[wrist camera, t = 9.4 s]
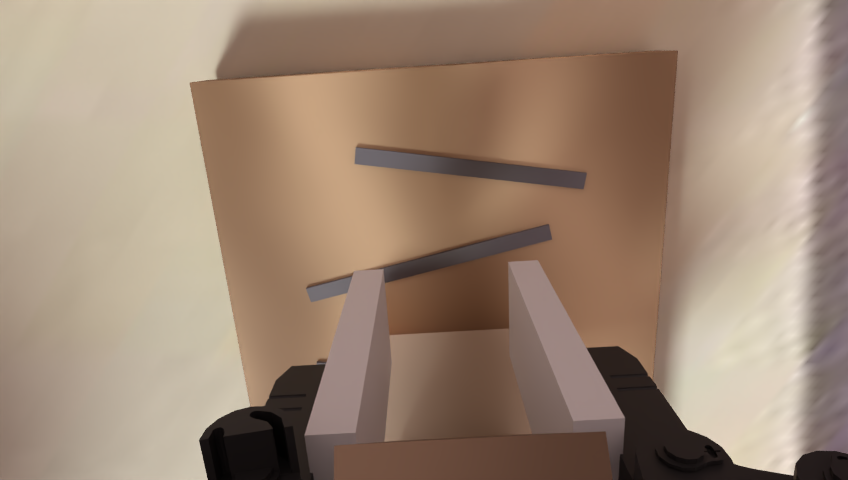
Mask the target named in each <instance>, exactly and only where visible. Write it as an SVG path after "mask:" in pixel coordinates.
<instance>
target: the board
mask: <svg viewBox="0 0 848 480" xmlns="http://www.w3.org/2000/svg"><path fill="white" fill-rule="evenodd" d="M677 55H678V51H644V52H628V53H613V54H598V55H583V56H568V57H552V58H537V59H522V60H507V61H491V62H476V63H461V64H446V65H431V66H415V67H400V68H385V69H370V70H355V71H339V72H324V73H309V74H294V75H279V76H263V77H248V78H233V79H218V80H206V81H199V82H192V83H190V87H191V92H192V98H193V103H194V108H195V114H196V119H197V124H198V130H199V135H200V140H201V146H202V151H203V156H204V162H205V167H206V172H207V178H208V183H209V188H210V194H211V199H212V204H213V210H214V215H215V220H216V226H217V231H218V236H219V242H220V247H221V252H222V258H223V263H224V268H225V274H226V279H227V284H228V289H229V295H230V300H231V305H232V311H233V316H234V321H235V327H236V332H237V337H238V343H239V348H240V353H241V359H242V364H243V369H244V375H245V380H246V385H247V391H248V396H249V401H250V407H254V406H265V404H266V402H267V399H269V395H270V392H271V390H272V388H273V386H274V383H275V381H276V380H277V379H278V378H279V377H280V376H281V375H282V374H283V373H284V372H286V371H287V370H288V369H289V368H290V367H291V366H301V365H319V364H326V362H327V359H328V356H329V352H330V349H331V346H332V342H333V339H334V336H335V333H336V329H337V326H338V323H339V319H340V316H341V313H342V309H343V306H344V303H345V299H346V296H347V293H348V289H349V286H350V283H351V280H352V276H353V273H354V271H360V270H377V269H384V280H385V292H386V303H387V314H388V325H389V335H402V334H420V333H438V332H456V331H474V330H492V329H509V282H508V262H514V261H531V260H538V261H539V263H540V265H541V267H542V269H543V270H544V272H545V274H546V276H547V278H548V279H549V281H550V283H551V285H552V287H553V289H554V290H555V292H556V294H557V296H558V298H559V299H560V301H561V303H562V305H563V307H564V308H565V310H566V312H567V314H568V316H569V317H570V319H571V321H572V323H573V325H574V327H575V328H576V330H577V332H578V334H579V336H580V337H581V339H582V341H583V343H584V345H585V346H586V348H591V347H609V346H619V347H621V348H622V349H624V350H625V351H627V352H628V353H630V354H631V355H633V356H634V357H636V358H637V359H638V360H639V362H640V363H641V364H642V366H643V367H644V369H645V370H646V372H647V373H648V376H650V377H651V379H652V380H653V372H654V358H655V345H656V332H657V319H658V306H659V293H660V279H661V266H662V253H663V240H664V227H665V213H666V200H667V187H668V174H669V161H670V148H671V134H672V121H673V108H674V95H675V82H676V69H677Z"/></svg>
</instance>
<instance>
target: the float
mask: <svg viewBox="0 0 848 480" xmlns="http://www.w3.org/2000/svg"><path fill="white" fill-rule="evenodd" d="M389 336H390V348H391V359H392V365H391V376H390V387H389V398H388V408H387V419H386V430H385V440H384V442H375V443H362V444H349V445H336V446H334V480H613V478H612V471H611V464H610V457H609V450H608V444H607V437H606V431H603V432H575V433H547V434H532V432H531V428H530V425H529V421H528V418H527V415H526V411H525V408H524V404H523V401H522V397H521V394H520V390H519V387H518V383H517V380H516V376H515V373H514V369H513V366H512V362H511V359H510V353H509V329H492V330H474V331H456V332H438V333H420V334H402V335H389Z"/></svg>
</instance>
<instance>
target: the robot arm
mask: <svg viewBox="0 0 848 480" xmlns="http://www.w3.org/2000/svg"><path fill="white" fill-rule="evenodd" d="M508 282H509V353H510V359H511V362H512V366H513V369H514V373H515V376H516V380H517V383H518V387H519V390H520V394H521V397H522V401H523V404H524V408H525V411H526V415H527V418H528V421H529V425H530V428H531V432H532V434H547V433H575V432H603V431H606V437H607V444H608V450H609V457H610V464H611V471H612V478H613V480H848V454H846V453H841V452H837V451H815V452H811V453H808V454H805V455H803V456H802V457H801V458H800V459H799V460H798V461H797V463H796V465H795V471H794V476H792V475H786V474H780V473H774V472H768V471H762V470H756V469H751V468H747V467H743V466H738V465H736V464H733V462H732V460H731V458H730V457H729V456H728V454H727V453H726V452H725V451H724V449H723V448H722V447H721V446H719V445H718V444H716V443H715V442H713V441H712V440H710V439H709V438H707V437H705V436H703V435H700V434H697V433H695V432H692V431H689V430H687V429H686V427H685V426H684V424H683V423H682V422H681V420H680V419H679V417H678V416H677V414H676V413H675V412H674V410H673V409H672V407H671V406H670V404H669V403H668V402H667V400H666V399H665V397H664V396H663V394H662V393H661V392H660V390H659V389H657V386H656V384H655V383H654V382H653V380H652V379H651V377H650V376H648V373H647V372H646V370H645V369H644V367H643V366H642V364H641V363H640V362H639V360H638V359H637V358H636V357H634V356H633V355H631V354H630V353H628V352H627V351H625V350H624V349H622V348H621V347H619V346H609V347H591V348H586V346H585V345H584V343H583V341H582V339H581V337H580V336H579V334H578V332H577V330H576V328H575V327H574V325H573V323H572V321H571V319H570V317H569V316H568V314H567V312H566V310H565V308H564V307H563V305H562V303H561V301H560V299H559V298H558V296H557V294H556V292H555V290H554V289H553V287H552V285H551V283H550V281H549V279H548V278H547V276H546V274H545V272H544V270H543V269H542V267H541V265H540V263H539V261H538V260H531V261H514V262H508ZM391 365H392V359H391V348H390V336H389V325H388V314H387V303H386V292H385V280H384V269H377V270H360V271H354V273H353V276H352V280H351V283H350V286H349V289H348V293H347V296H346V299H345V303H344V306H343V309H342V313H341V316H340V319H339V323H338V326H337V329H336V333H335V336H334V339H333V342H332V346H331V349H330V352H329V356H328V359H327V362H326V364H319V365H301V366H291V367H290V368H289V369H288V370H287V371H286V372H284V373H283V374H282V375H281V376H280V377H279V378H278V379H277V380H276V381H275V383H274V386H273V388H272V390H271V392H270V395H269V399H267V402H266V404H265V406H254V407H248V408H244V409H240V410H236V411H234V412H231V413H229V414H227V415H225V416H223V417H221V418H219V419H218V420H216V421H215V422H214V423H213V424H212V425H210V426H209V427H208V428H207V429H206V430H205V432H204V433H203V435H202V436H201V438H200V440H199V442H200V446H201V451H202V455H203V460H204V464H205V469H206V473H207V478H208V480H334V446H336V445H349V444H362V443H375V442H384V440H385V430H386V419H387V408H388V398H389V387H390V376H391Z"/></svg>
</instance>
